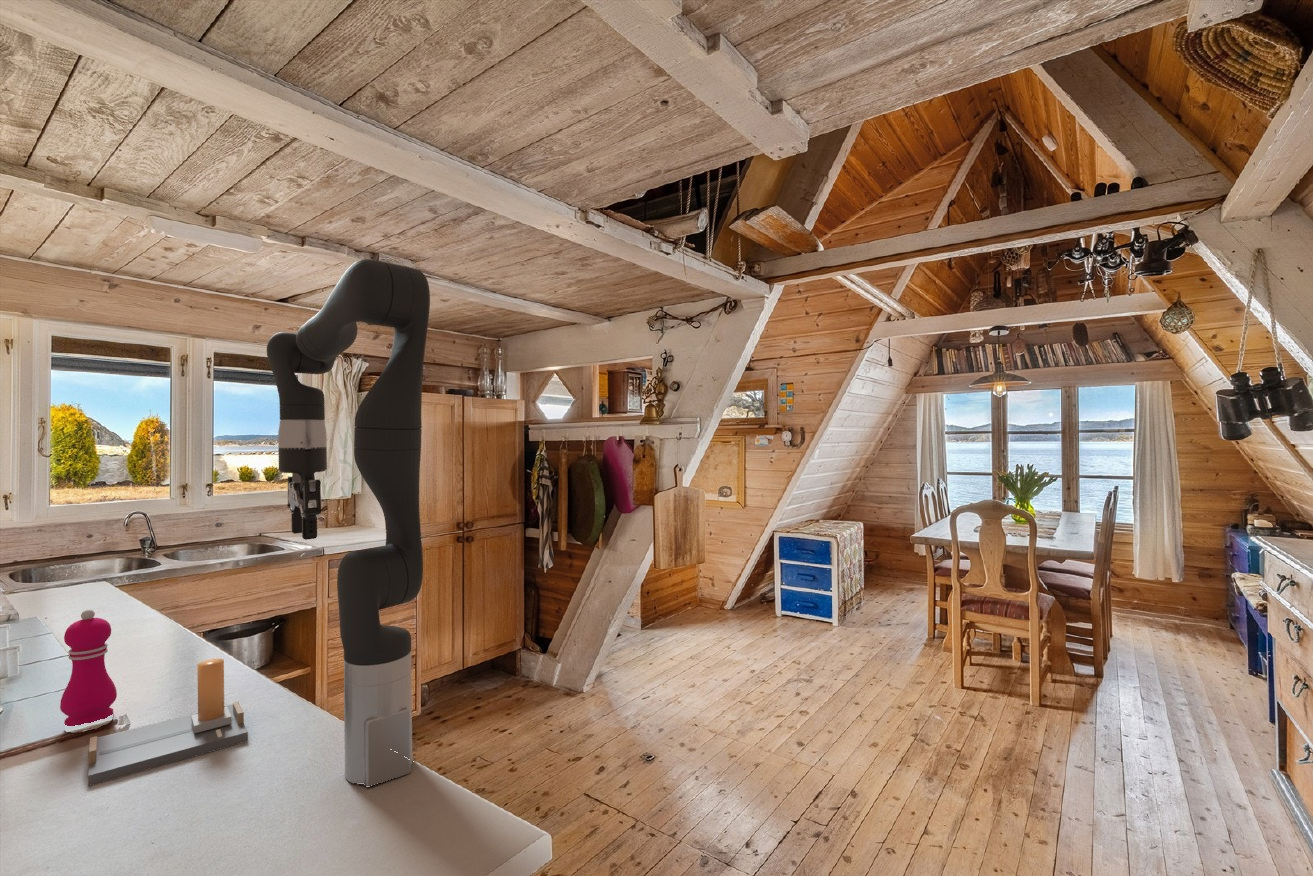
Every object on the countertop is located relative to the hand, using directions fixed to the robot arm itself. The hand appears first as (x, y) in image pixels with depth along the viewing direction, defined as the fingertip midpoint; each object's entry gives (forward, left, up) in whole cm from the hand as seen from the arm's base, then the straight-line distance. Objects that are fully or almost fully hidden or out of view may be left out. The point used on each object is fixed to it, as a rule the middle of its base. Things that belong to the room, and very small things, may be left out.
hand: (304, 535), depth 111 cm
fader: (+2, +14, -30) cm, 33 cm away
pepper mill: (+20, +29, -32) cm, 48 cm away
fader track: (+2, +19, -32) cm, 37 cm away
